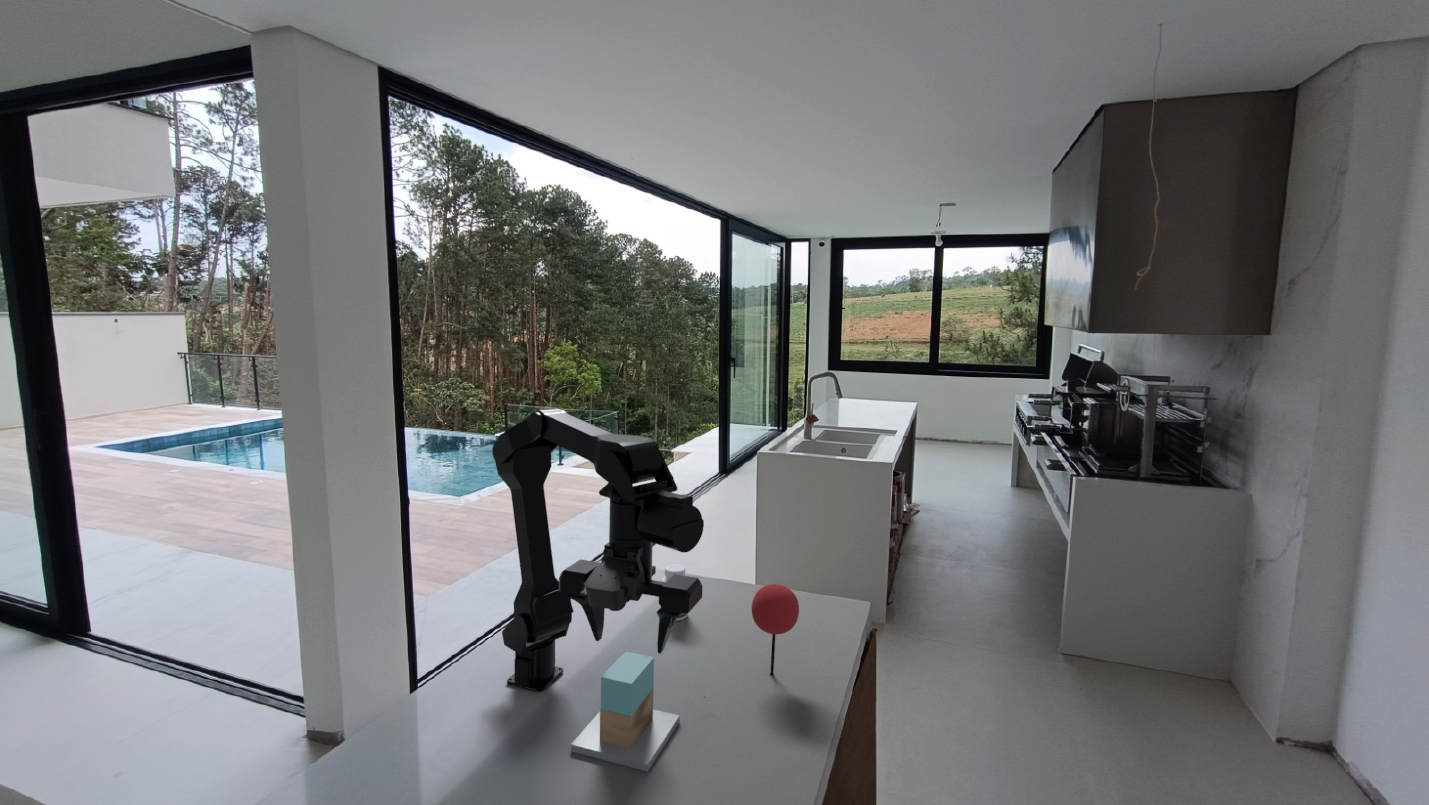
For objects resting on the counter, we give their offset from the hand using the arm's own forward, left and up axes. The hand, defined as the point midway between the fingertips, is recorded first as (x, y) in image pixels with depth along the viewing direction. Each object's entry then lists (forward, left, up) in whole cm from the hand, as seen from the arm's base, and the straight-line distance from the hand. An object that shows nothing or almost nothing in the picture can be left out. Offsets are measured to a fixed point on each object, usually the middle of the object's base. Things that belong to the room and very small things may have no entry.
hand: (629, 646), depth 85 cm
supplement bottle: (-37, -8, -13) cm, 40 cm away
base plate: (0, 0, -13) cm, 13 cm away
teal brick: (0, 0, -8) cm, 8 cm away
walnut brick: (0, 0, -12) cm, 12 cm away
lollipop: (-23, +15, -13) cm, 30 cm away
